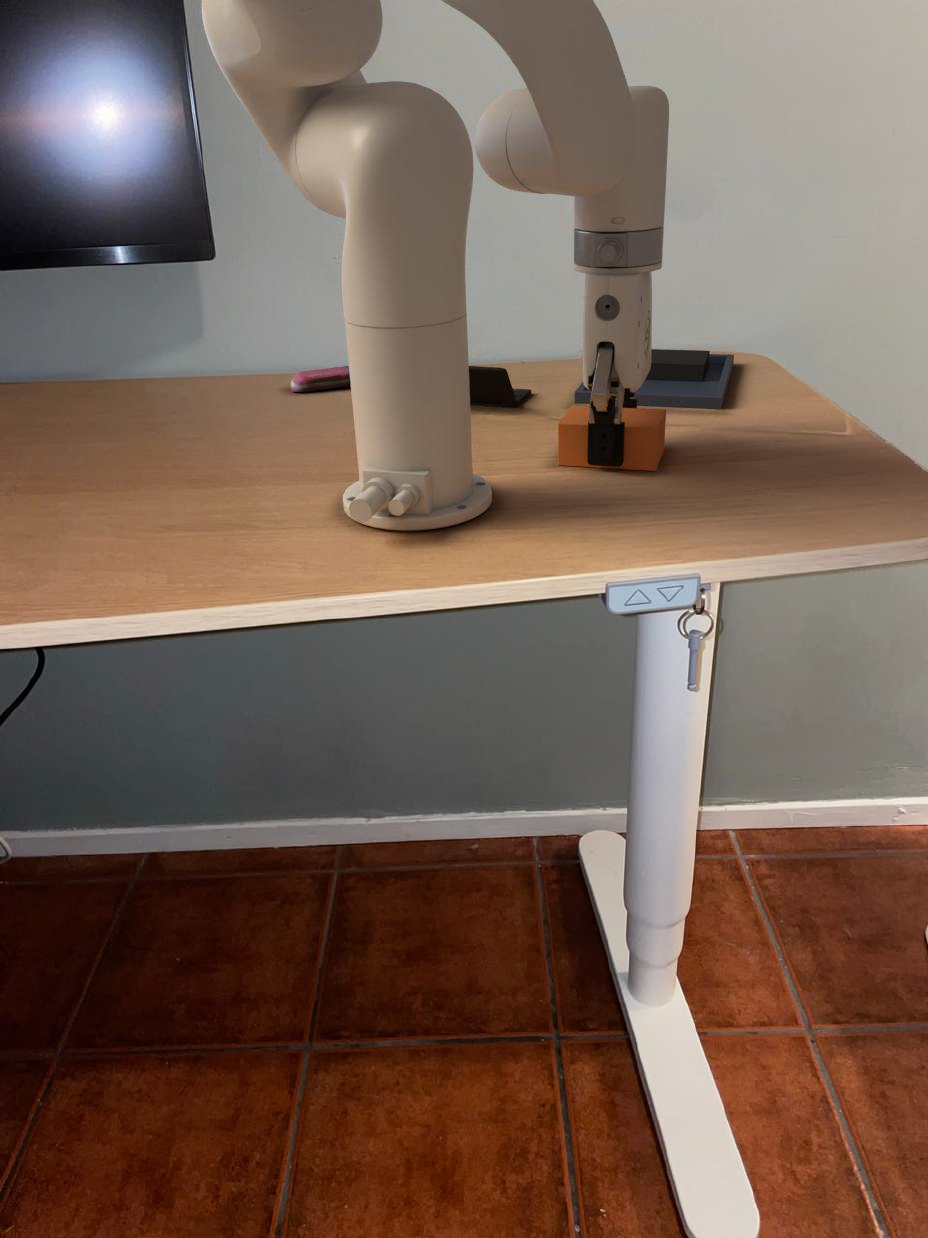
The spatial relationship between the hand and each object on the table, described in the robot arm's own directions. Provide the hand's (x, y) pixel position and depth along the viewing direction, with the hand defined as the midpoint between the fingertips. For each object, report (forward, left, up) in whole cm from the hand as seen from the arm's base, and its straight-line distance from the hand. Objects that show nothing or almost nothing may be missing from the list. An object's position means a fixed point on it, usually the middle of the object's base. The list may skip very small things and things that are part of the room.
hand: (612, 450), depth 93 cm
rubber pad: (+30, -1, 0) cm, 31 cm away
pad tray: (+26, -1, -1) cm, 26 cm away
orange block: (0, 0, -1) cm, 1 cm away
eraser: (+21, +37, -1) cm, 43 cm away
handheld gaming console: (+15, +18, -1) cm, 23 cm away
